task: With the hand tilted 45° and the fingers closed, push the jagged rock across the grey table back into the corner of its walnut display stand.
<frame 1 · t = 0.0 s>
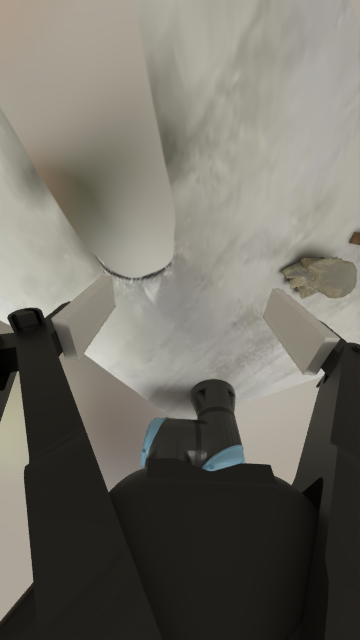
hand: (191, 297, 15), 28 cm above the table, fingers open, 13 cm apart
jagged rock: (311, 275, 43), on the table
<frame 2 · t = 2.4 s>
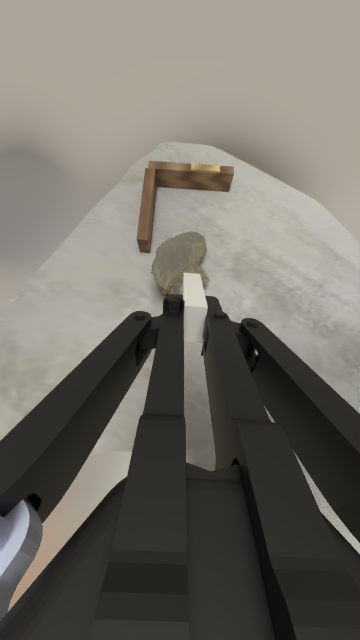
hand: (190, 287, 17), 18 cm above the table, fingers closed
jagged rock: (184, 276, 38), on the table
stand: (188, 216, 41), on the table
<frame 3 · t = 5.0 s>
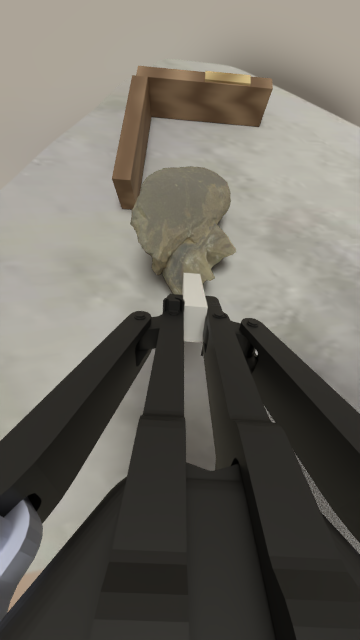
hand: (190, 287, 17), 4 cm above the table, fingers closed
jagged rock: (192, 248, 23), on the table, touching gripper
stand: (198, 159, 26), on the table
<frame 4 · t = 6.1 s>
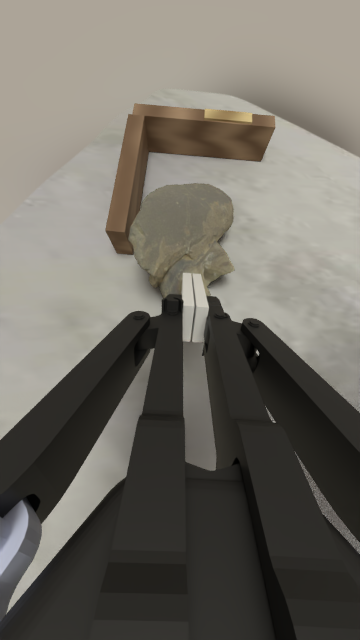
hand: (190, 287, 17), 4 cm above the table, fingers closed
jagged rock: (192, 261, 23), on the table, touching gripper
stand: (197, 197, 25), on the table
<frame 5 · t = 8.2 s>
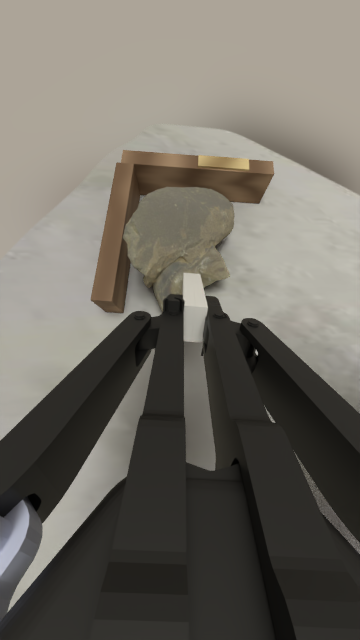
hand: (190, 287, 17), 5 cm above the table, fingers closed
jagged rock: (189, 264, 23), on the table, touching gripper
stand: (191, 245, 24), on the table
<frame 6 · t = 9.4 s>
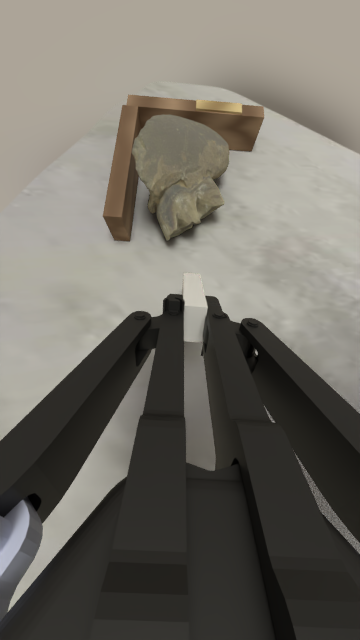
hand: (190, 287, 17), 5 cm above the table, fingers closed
jagged rock: (189, 203, 26), on the table
stand: (190, 186, 26), on the table
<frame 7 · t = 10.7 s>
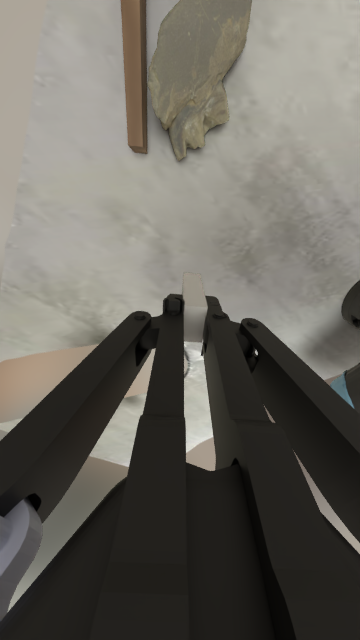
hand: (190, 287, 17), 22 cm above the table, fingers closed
jagged rock: (199, 95, 26), on the table
stand: (203, 64, 24), on the table
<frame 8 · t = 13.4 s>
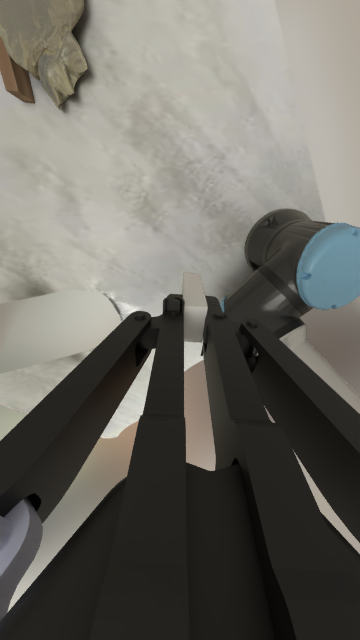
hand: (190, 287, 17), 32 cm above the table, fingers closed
jagged rock: (67, 50, 31), on the table
stand: (63, 18, 29), on the table
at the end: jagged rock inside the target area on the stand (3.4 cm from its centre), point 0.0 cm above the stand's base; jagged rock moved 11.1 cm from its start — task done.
